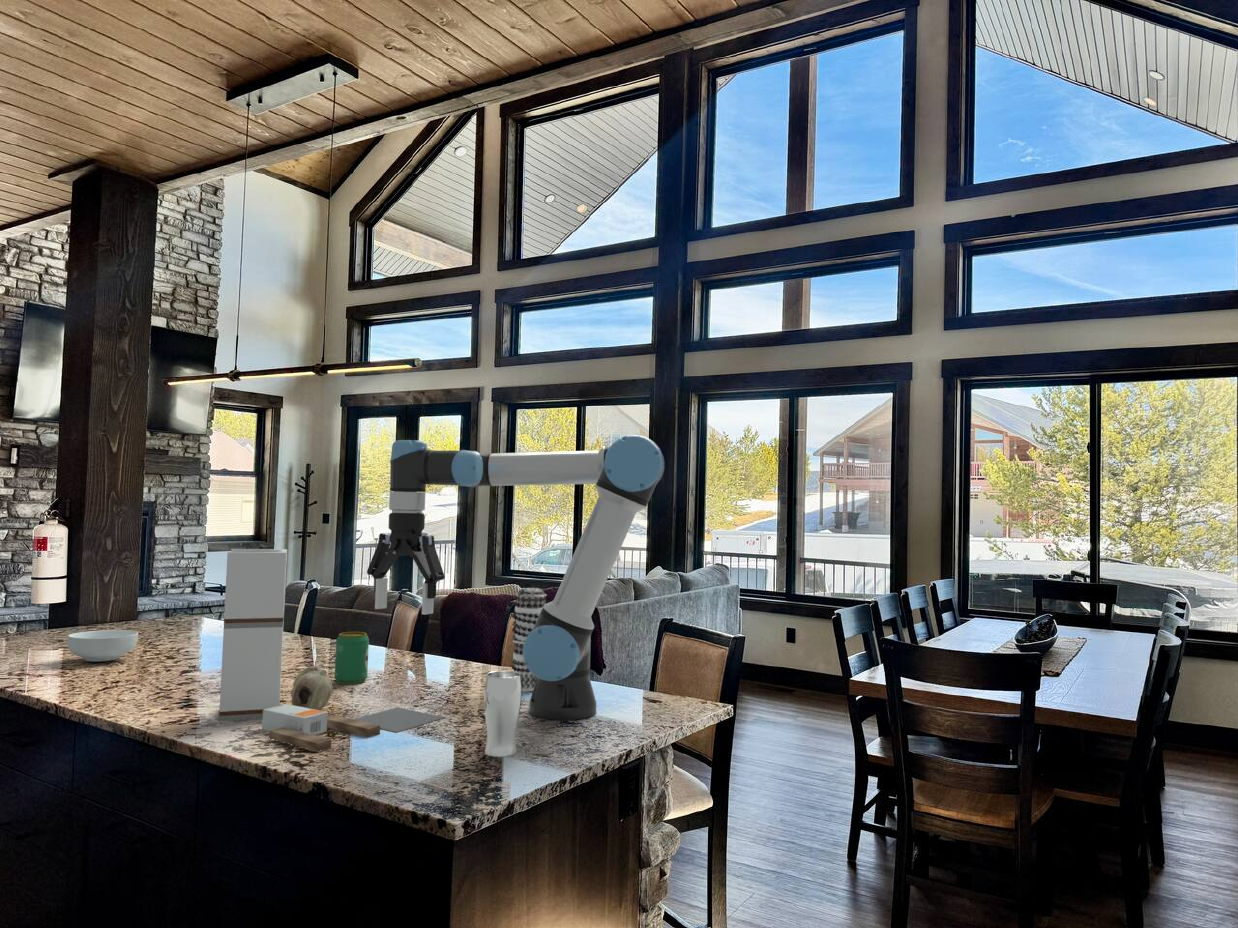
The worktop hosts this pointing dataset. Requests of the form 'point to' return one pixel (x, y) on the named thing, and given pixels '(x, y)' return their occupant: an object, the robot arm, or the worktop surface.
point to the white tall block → (252, 632)
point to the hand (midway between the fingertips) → (403, 611)
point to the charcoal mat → (399, 719)
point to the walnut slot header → (323, 743)
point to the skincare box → (295, 719)
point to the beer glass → (502, 712)
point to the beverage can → (351, 657)
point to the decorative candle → (525, 630)
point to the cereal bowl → (102, 644)
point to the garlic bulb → (311, 688)
